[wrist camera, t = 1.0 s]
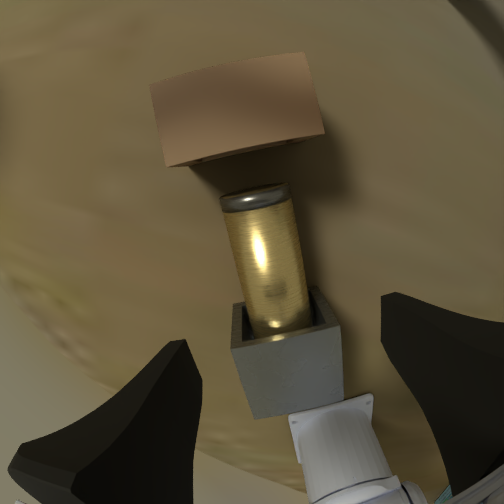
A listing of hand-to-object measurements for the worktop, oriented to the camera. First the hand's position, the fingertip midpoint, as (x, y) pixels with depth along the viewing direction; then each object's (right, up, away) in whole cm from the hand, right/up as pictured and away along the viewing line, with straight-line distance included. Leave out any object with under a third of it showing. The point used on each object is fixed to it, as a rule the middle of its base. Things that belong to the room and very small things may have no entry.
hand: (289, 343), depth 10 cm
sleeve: (+1, -2, +10) cm, 11 cm away
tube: (0, +1, +9) cm, 9 cm away
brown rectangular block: (-2, +11, +6) cm, 13 cm away
